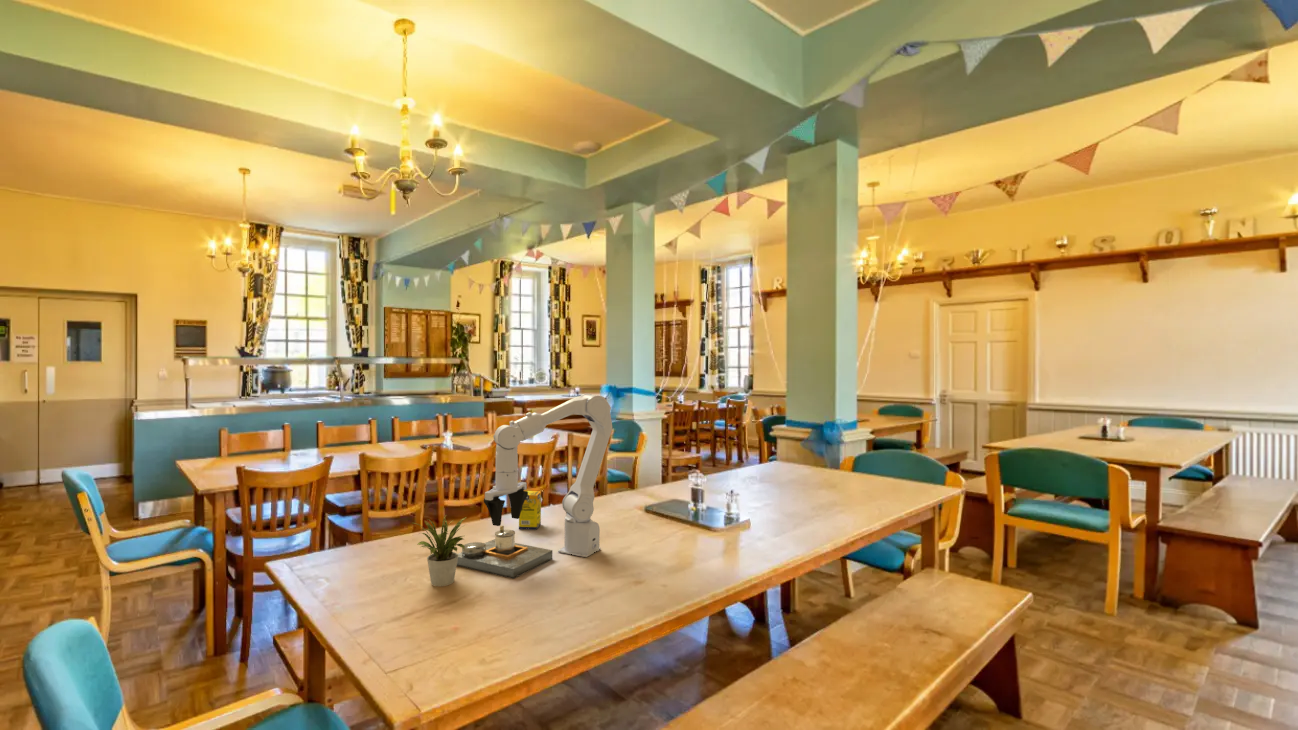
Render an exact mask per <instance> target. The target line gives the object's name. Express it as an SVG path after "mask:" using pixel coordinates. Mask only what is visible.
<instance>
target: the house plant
mask: <svg viewBox="0 0 1298 730" xmlns="http://www.w3.org/2000/svg"><path fill="white" fill-rule="evenodd" d="M446 517H447V514H445V515H444V517H443V520H442V522H441V523H442V525H441V530H440V531H441V532H440V533H439V534H438V532H437V530H436V529H437V528H436V526H435V524H434V522H433V520H430V519H429V518H427V521H426V520H424V524H425V525H426V526H427V528H423V526H422V525H421V524H419V523H415V522H413V524H416V525H418V526H420V527H421V528H422V531H425V532H426V533H425V532H420V533H418V535H419V534H423V535H424V536H425V537H426V538H427V539H428V541H429V542H430V543H429V542H427V541H423V540H422V541H419V542H418V543H417V545H418V546H419V545H421V546H420V548H423V549H424V548H427V549H429V550H430V554H429V555H427V557H426V560H427V566H428V572H429V578H430V584H431V585H432V586H433V587H445V586H449V585H452V584H453V583H454V581H455V577H456V570H457V567H458V566H457V560H458V547H460V548H461V549H462V548H463V549H464V548H465V546H464V544H463V543H459V542H461V541H462V540H465V539H464V538H463V537H464V535H460V536H455V535H456V533H457V532H458V531H459V530H460V529H461V528H462V527H465V526H467V525H469V524H464V525H462V526H461V524H462V523H463V521H465V519H467V516H466V517H463V518H461V519H460V520H459V521H458V522H457V523H456V524H455V526H454V527H453V528H452V529H451V530H450V531H449V527H448V526H450V524H452V522H453V520H452V521H450V522H449V523H448V521H447V518H446ZM428 521H429V522H430V523H431V524H432V525H431V524H430V523H429V522H428ZM448 532H449V533H448ZM429 533H430V534H431V535H432V536H431V535H430V534H429ZM447 535H448V536H447ZM432 537H433V538H434V539H433V538H432ZM457 546H458V547H457ZM453 550H454V551H453ZM464 551H465V550H464Z"/></svg>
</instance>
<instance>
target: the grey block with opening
mask: <svg viewBox="0 0 1298 730" xmlns="http://www.w3.org/2000/svg"><path fill="white" fill-rule="evenodd" d="M463 545H464V546H465V548H464V549H463V548H462V547H461V552H457V554H458V560H457V566H456V567H459V568H464V569H469V570H474V571H477V572H482V573H487V574H491V575H494V576H495V575H496V576H499V577H504V578H509V579H514V580H515V579H516V578H518V577H520V576H522V575H524V574H526V573H528V572H530V571H531V570H533V569H536V568H537V567H540V566H542V565H544V564H545V563H548V562H549V561H552V560H553V549H548V548H543V547H537V546H532V545H526V544H524V543H523V544H522V543H517V542H515V546H514V553H512V554H509V555H504V554H499V553H495V538H494V539H491V540H488V541H487V542H479V541H477V542H476V541H475V542H467V543H465V544H463ZM464 550H465V551H464Z"/></svg>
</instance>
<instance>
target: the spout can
mask: <svg viewBox="0 0 1298 730" xmlns="http://www.w3.org/2000/svg"><path fill="white" fill-rule="evenodd" d="M515 534H516V531H515V530H512V529H505V526H504V525H500V526H499V530H496V531H495V532H494V537H495V538H494V539H495V553H499V554H504V555H509V554H512V553H514V546H515V543H516V542H515V536H516V535H515Z"/></svg>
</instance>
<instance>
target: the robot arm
mask: <svg viewBox="0 0 1298 730" xmlns="http://www.w3.org/2000/svg"><path fill="white" fill-rule="evenodd" d="M611 410H612V406H611V405H610V404H609V402H608V401H607V399H606V398H605V397H604V396H602V395H594V394H592V393H583V394H582V395H580V396H576V397H573V398H571V399H569V400H567V401H565V402H563V403H561V404H559V405H557V406H555V407H553V408H551V409H550V410H546V411H545V412H543V413H541V414H540V413H537V412H530V411H529V412H527V413H525V416H523V417H522V418H519V419H517V420H510V421H509V425H508V424H503V425H500V426H499V427H497V429H496V430H495V431H494V434H493V436H492V437H493V441H494V442H495V444H496V445H495V450H496V451H495V485H493V486H492V489H490V490H488V491H485V492H484V498H483V503H484V504H485V506H486V508H487V510H488V513H489V516H490V520H491V524H492V526H495V527H500V526H502V525H501V524H502V516H503V515H502V514H503V509H504V506H505V503H506V500H504V499H501V498H500V497H504V496H507V495H508V498H509V502H510V503H509V504H510V516H511V519H514V520H519V517H520V513H521V510H522V506H523V503H524V501H525V499H526V497H527V496H528V492H527V491H528V490H527V488H528V487H527V484H528V483H527V482H525V481H519V480H518V479H519V476H518V474H519V473H518V472H519V470H518V469H519V468H518V467H519V465H518V463H519V459H518V457H519V454H518V446H519V445H520V443H521V442H524V441H526V440H528V439H530V438H532V437H534V436H538V435H539V434H541V433H543V432H544V431H545V428H546V426H547V425H549V424H553V423H554V422H557V421H559V420H562V419H564V418H566V417H570V416H572V415H578V416H583V417H584V418H585V419H586V420H587V421H588V423H589V425H590V427H591V428H592V431H591V434H590V436H589V439H588V443H587V446H586V449H585V453H584V455H583V458H582V461H581V464H580V468H579V469H578V473H577V476H576V479H575V482H574V483H573V484H572V485H571V486H570V487H569V491H568V492H567V494H566V495H564V497H563V499H562V502H561V504H562V509H563V510H564V512H565V516H564V546H563V547H562V548H559V549H558V550H557V552H558V553H562V554H567V555H571V554H572V555H573V556H578V557H584V558H588V557H589V556H591V555H592V554H595V553H596V551H597V552H599V551H600V550H601V549H602V548H601V547H600V539H601V537H600V531H601V530H600V525H599V523H598V522H596V521H595V520H592V519H591V517H592V516H593V514H594V509H595V508H594V507H595V506H594V500H595V490H594V487H595V484H596V481H597V478H598V476H599V472H600V468H601V464H602V462H603V459H604V455H605V452H606V450H607V446H608V443H609V442H610V441H609V440H610V438H611V435H612V431H613V423H612V422H613V421H612V417H611ZM518 481H519V482H518ZM599 549H600V550H599ZM594 552H595V553H594ZM572 555H571V556H572Z"/></svg>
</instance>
